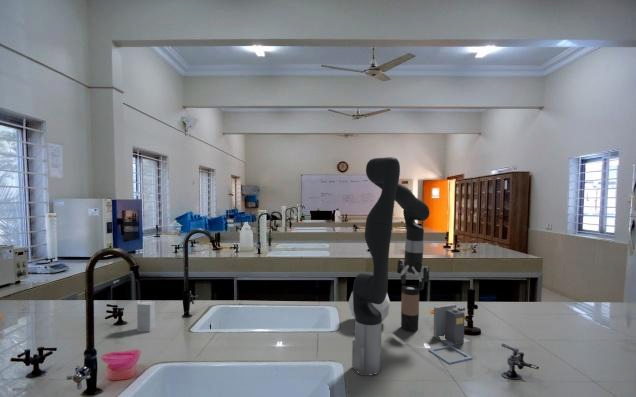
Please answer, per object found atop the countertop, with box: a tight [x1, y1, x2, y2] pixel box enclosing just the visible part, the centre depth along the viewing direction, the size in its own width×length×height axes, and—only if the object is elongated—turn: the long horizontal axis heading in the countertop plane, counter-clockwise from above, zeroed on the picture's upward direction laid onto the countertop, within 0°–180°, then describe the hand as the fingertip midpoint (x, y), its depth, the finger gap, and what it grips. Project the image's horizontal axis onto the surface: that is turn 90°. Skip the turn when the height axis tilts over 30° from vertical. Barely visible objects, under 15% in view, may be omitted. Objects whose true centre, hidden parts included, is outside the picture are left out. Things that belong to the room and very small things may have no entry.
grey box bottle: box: [445, 307, 466, 345], centre depth 140 cm, size 5×5×13 cm
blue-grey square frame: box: [427, 344, 473, 365], centre depth 128 cm, size 11×11×2 cm
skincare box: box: [136, 300, 156, 333], centre depth 149 cm, size 6×4×12 cm
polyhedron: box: [347, 291, 391, 322], centre depth 161 cm, size 19×20×20 cm
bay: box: [433, 303, 470, 346], centre depth 141 cm, size 11×9×14 cm
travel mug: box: [400, 284, 420, 333], centre depth 151 cm, size 8×8×20 cm
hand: (411, 286), depth 146 cm, fingers open, 8 cm apart
